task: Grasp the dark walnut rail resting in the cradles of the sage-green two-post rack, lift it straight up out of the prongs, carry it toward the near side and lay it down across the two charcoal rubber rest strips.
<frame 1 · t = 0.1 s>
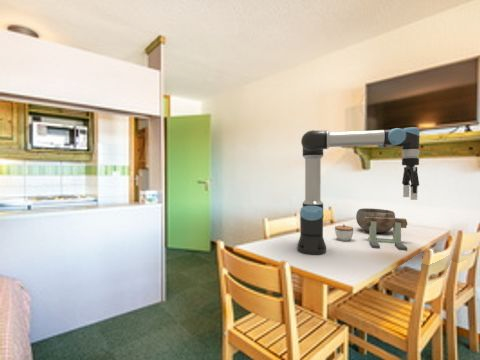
hand: (409, 198, 140), 28 cm above the table, fingers open, 13 cm apart
bowl: (375, 232, 186), on the table
rail: (384, 226, 160), point 9 cm above the table, touching rack
rack: (384, 241, 161), on the table
rests: (387, 246, 149), on the table
lidded jar: (344, 240, 165), on the table
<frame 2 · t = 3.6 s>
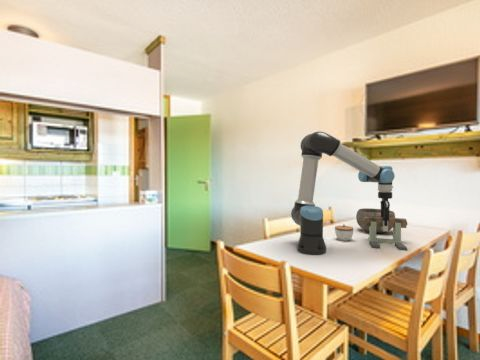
hand: (384, 230, 160), 7 cm above the table, fingers closed on rail, 3 cm apart
rail: (384, 226, 160), point 9 cm above the table, touching gripper, rack
everything else where it was.
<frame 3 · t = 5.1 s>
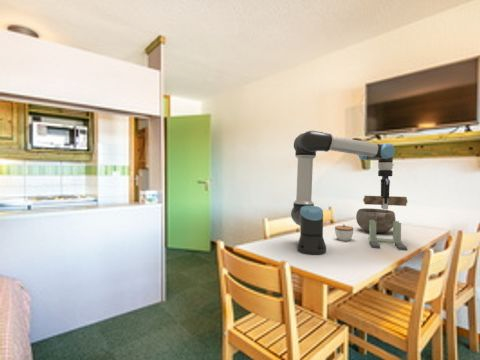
hand: (384, 208, 160), 20 cm above the table, fingers closed on rail, 3 cm apart
rail: (384, 204, 160), point 22 cm above the table, touching gripper
everything else where it was.
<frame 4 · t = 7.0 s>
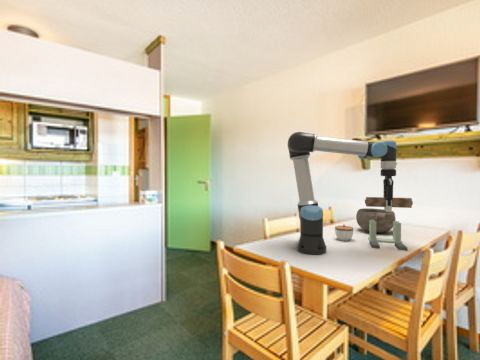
hand: (387, 211, 148), 20 cm above the table, fingers closed on rail, 3 cm apart
rail: (387, 206, 148), point 23 cm above the table, touching gripper
everything else where it was.
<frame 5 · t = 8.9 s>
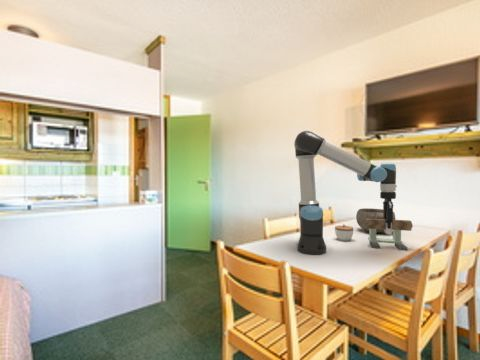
hand: (387, 233, 148), 8 cm above the table, fingers closed on rail, 3 cm apart
rail: (387, 228, 148), point 10 cm above the table, touching gripper
everything else where it was.
when the fingers open (1 cm above the table, at t = 10.4 s): rail drops 2 cm, resting on rests.
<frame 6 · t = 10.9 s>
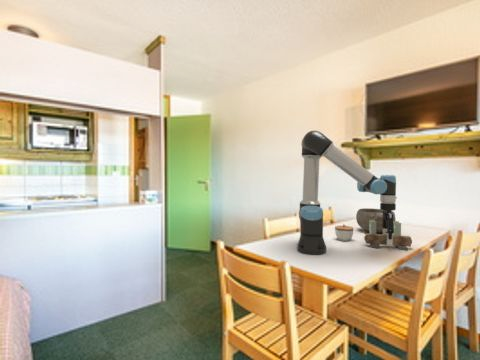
hand: (387, 242, 149), 3 cm above the table, fingers open, 10 cm apart
rail: (387, 244, 149), point 1 cm above the table, touching rests
everything else where it was.
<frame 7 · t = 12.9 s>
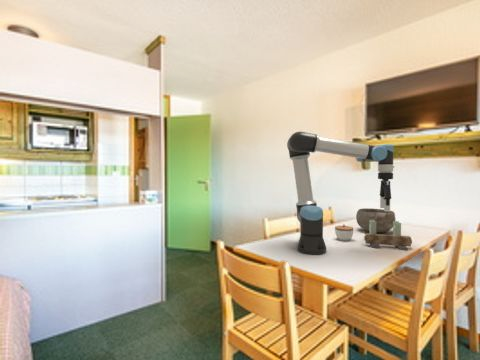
hand: (384, 209, 151), 20 cm above the table, fingers open, 13 cm apart
nothing on the table moved.
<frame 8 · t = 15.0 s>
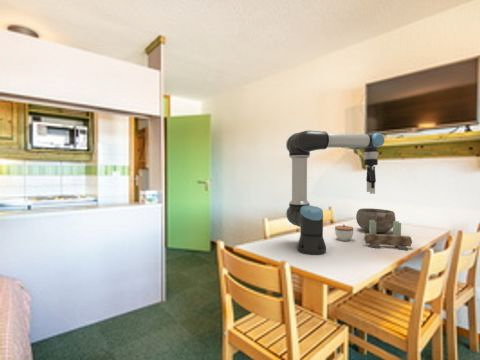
hand: (370, 192, 168), 29 cm above the table, fingers open, 13 cm apart
nothing on the table moved.
at the end: rail inside the target area on the rests (0.0 cm from its centre), point 1.5 cm above the rests's base; rail touching rests; the gripper is holding nothing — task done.
